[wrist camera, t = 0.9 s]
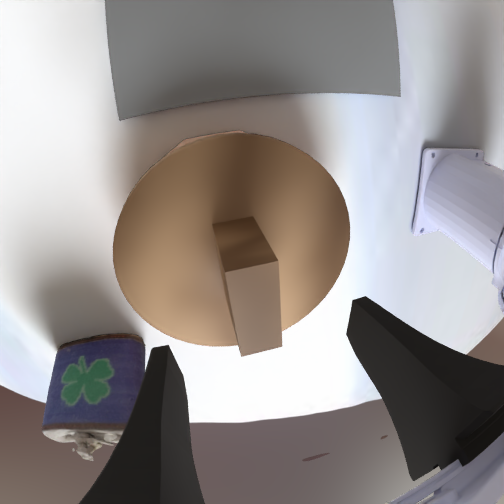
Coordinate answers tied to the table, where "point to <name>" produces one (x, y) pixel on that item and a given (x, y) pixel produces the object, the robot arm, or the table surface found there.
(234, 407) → the table surface
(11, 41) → the table surface
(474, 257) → the robot arm
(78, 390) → the flask
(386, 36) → the mat
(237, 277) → the lid
